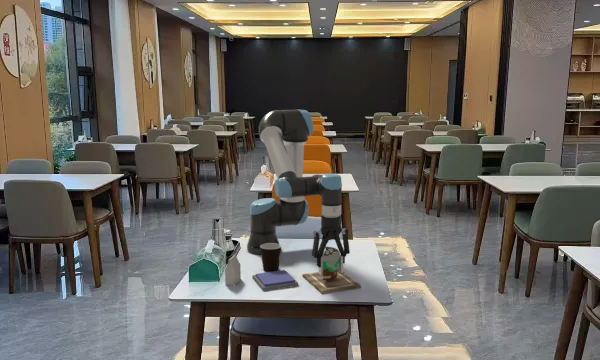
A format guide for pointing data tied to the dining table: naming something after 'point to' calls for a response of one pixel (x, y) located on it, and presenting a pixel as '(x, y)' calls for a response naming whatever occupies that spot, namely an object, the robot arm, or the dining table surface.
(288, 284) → the ink pad
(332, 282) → the marked board
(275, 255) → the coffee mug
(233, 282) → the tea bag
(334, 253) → the food container
